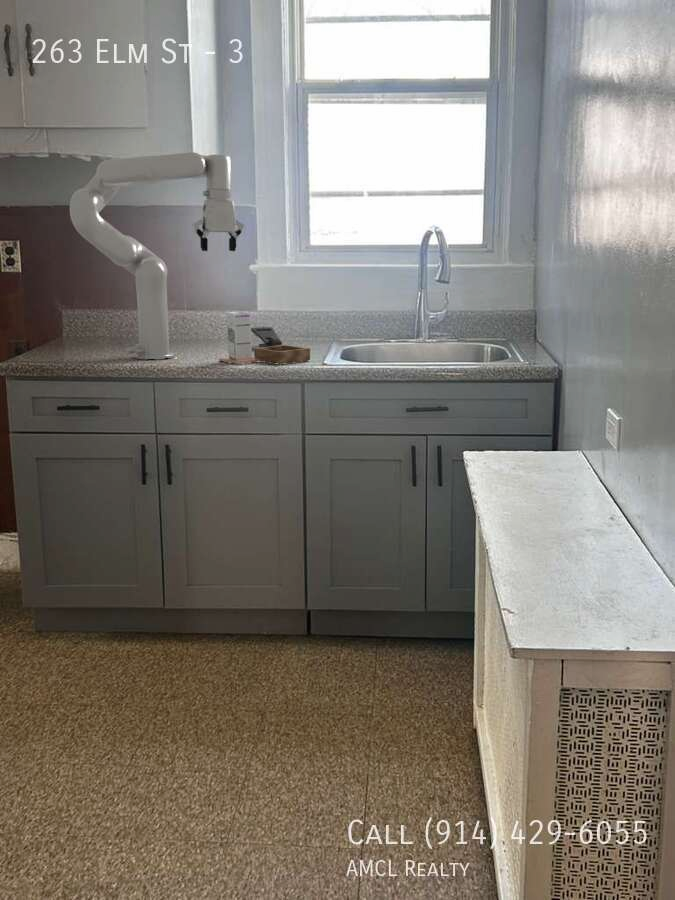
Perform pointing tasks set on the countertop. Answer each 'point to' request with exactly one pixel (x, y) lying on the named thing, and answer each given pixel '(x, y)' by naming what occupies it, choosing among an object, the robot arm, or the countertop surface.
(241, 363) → the terracotta tile
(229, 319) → the syrup box
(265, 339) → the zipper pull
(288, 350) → the walnut caddy
